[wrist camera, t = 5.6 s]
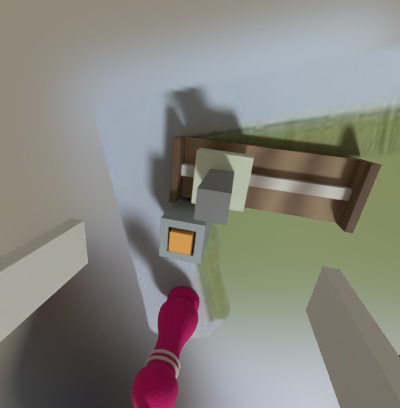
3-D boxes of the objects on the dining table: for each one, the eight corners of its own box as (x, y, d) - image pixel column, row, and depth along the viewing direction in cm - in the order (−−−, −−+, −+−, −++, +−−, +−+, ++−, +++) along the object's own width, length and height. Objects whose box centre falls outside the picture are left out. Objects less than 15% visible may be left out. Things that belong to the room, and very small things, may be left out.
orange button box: (212, 204, 35) (205, 225, 28) (208, 236, 37) (200, 264, 30) (177, 198, 36) (160, 217, 28) (174, 230, 38) (158, 255, 30)
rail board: (361, 159, 29) (381, 165, 25) (338, 219, 32) (352, 233, 28) (182, 136, 32) (173, 137, 28) (177, 192, 35) (169, 202, 31)
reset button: (200, 217, 33) (192, 235, 28) (198, 234, 34) (189, 255, 29) (181, 214, 34) (169, 231, 28) (180, 230, 35) (168, 250, 29)
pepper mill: (167, 281, 42) (110, 403, 24) (203, 288, 41) (173, 421, 23) (166, 309, 45) (114, 438, 26) (200, 316, 44) (171, 456, 25)
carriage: (252, 154, 28) (260, 174, 17) (243, 203, 31) (244, 248, 20) (200, 147, 29) (176, 161, 18) (195, 196, 32) (171, 234, 21)
